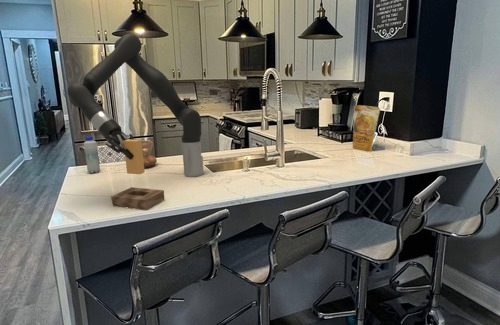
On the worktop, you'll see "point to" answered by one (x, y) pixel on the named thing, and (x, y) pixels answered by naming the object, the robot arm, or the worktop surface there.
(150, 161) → the reddish brown vase
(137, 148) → the tan rectangular block
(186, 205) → the worktop surface
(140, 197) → the slotted box
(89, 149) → the bottle
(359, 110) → the pancake mix bag
